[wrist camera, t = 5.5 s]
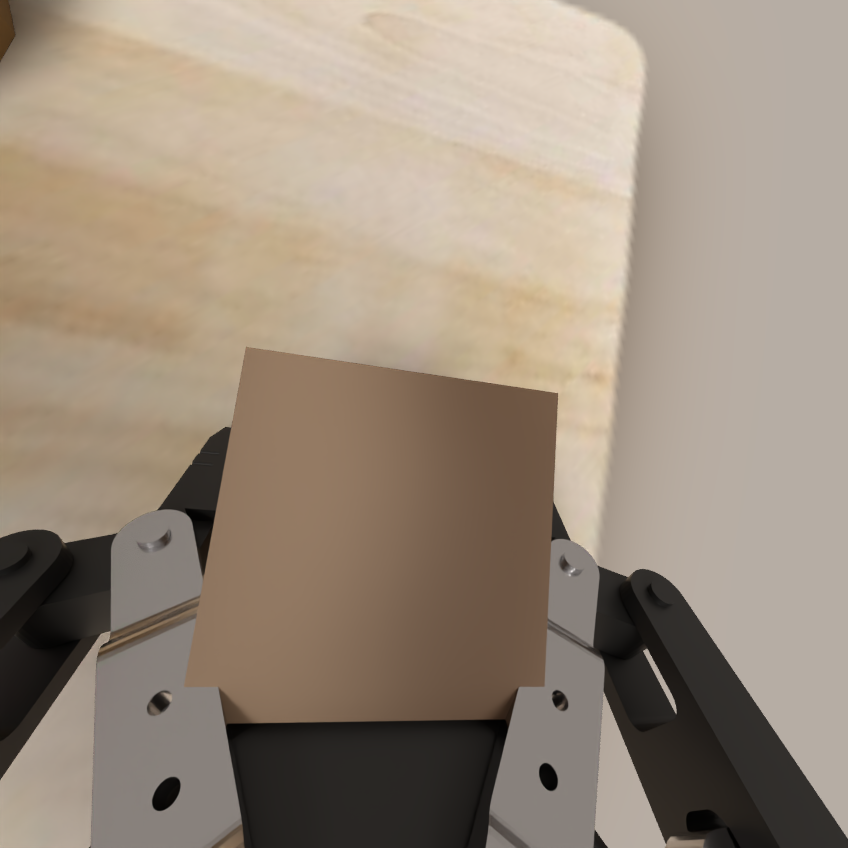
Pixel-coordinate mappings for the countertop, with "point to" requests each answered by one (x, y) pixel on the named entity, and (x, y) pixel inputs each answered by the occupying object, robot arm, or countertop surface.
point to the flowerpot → (5, 27)
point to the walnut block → (377, 546)
